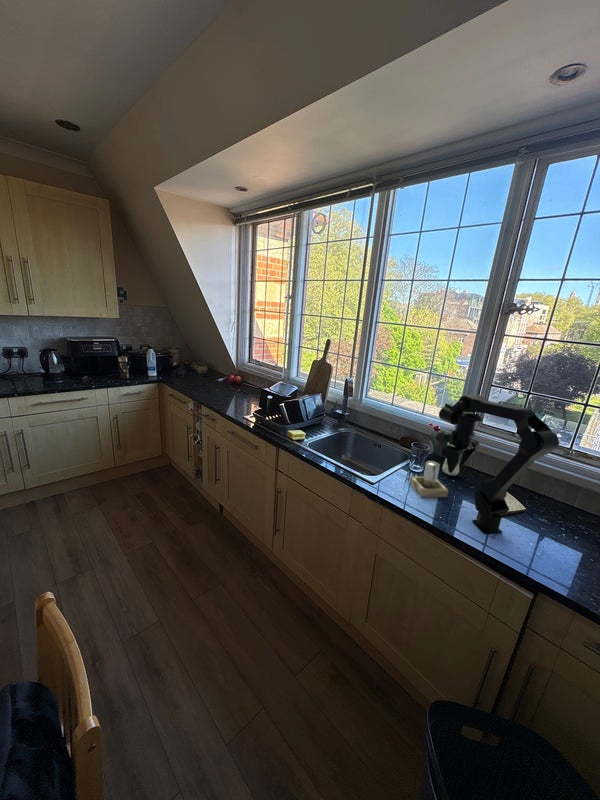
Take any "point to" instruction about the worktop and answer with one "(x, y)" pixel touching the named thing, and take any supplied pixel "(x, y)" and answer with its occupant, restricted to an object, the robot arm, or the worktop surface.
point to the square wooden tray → (437, 492)
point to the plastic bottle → (445, 467)
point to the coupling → (430, 475)
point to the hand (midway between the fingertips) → (455, 469)
